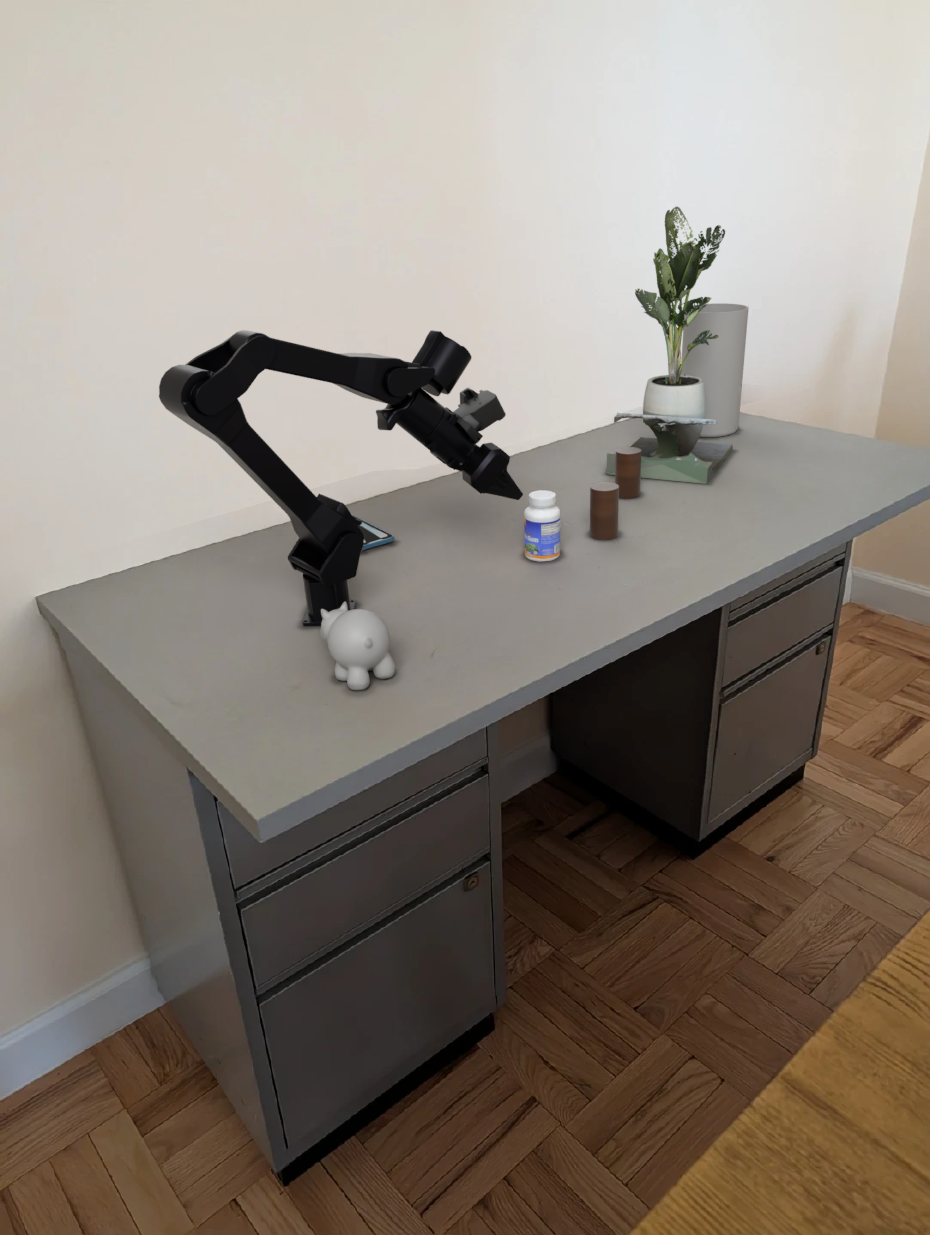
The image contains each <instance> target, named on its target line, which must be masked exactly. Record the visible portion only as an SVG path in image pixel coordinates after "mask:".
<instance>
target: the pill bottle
mask: <svg viewBox="0 0 930 1235" xmlns="http://www.w3.org/2000/svg"><path fill="white" fill-rule="evenodd" d="M556 504H557V494H556V493H555V492H554V491H551V490H547V489H546V490H545V489H539V490H534V491H531V492H530V493H528V505H529V506H527V507H526V508H525V509H524V512H523V523H524V524H523V532H524V533H523V534H524V536H523V538H524V543H523V544H524V545H523V546H524V556H525V558H527V559H528V560H530V561H533V562H540V563H541V562H543V563H544V562H550V561H555V560H556V559H558V558H559V557H560V556H561V510H560V508H559V507H558V506H556Z"/></svg>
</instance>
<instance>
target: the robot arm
mask: <svg viewBox="0 0 930 1235" xmlns="http://www.w3.org/2000/svg"><path fill="white" fill-rule="evenodd" d="M471 361H472V355H471V353H470V351H469V350H468V349H467V348H466V347H465V346H464V345H461V344H459V343H458V342H457V341H455V340H454V339H452V338H450V337H448V336H446V335H445V334H444V333H443V332H442V331H440V330H434V329H431V330H429V332H428V334H427V335H426V337H425V339H424V342H423V344H422V346H421V347H420V348H419V350H418V351H417V354H415V356H414V358H413V359H412V361H407V360H403V359H401V358H398V357H393V356H387V355H383V354H377V353H371V352H370V353H369V352H368V353H367V352H346V353H345V352H344V353H337V352H332V351H328V350H325V349H320V348H317V347H312V346H308V345H303V344H298V343H294V342H291V341H287V340H282V339H279V338H273V337H270V336H268V335H266V333H262V332H257V331H252V330H247V329H246V330H244V329H241V330H238V331H236V332H235V333H234V334H232V335H231V336H229V337H228V338H227V339H225V340H224V341H223V342H221V343H219V344H218V345H215V346H213V347H212V348H210V349H208V350H206V351H204V352H202V353H200V354H198V355H196V356H194V357H193V358H192V359H191V360H190V361H188V362H187V363H185V364H177V365H174V366H171V367H170V368H169V369H168V370H166V371H165V372H164V373H163V375H162V376H161V378H160V382H159V386H158V398H159V400H160V403H161V404H162V406H163V407H164V409H166V410H167V411H168V412H169V413H171V414H172V415H173V416H176V417H177V418H178V419H180V420H181V421H182V422H184V423H185V424H187V425H188V426H189V427H192V428H193V429H194V430H196V431H198V432H200V433H201V434H202V435H204V436H205V437H207V438H209V439H211V440H212V441H214V442H215V443H216V444H217V445H218V446H219V447H220V448H221V449H222V451H224V452H225V453H226V454H227V455H228V456H229V457H230V458H231V459H232V460H233V461H234V462H235V463H236V464H237V465H238V466H239V467H240V468H241V469H242V470H243V471H244V472H245V473H246V474H247V475H248V476H249V477H250V478H251V479H252V480H253V481H254V482H255V484H257V485H258V486H259V487H260V489H262V490H263V491H264V492H265V494H267V495H268V496H269V498H271V499H272V501H274V503H276V504H277V506H279V508H280V509H281V510H282V511H283V512H284V513H285V514H286V515H287V516H288V517H289V520H290V522H291V526H292V528H293V532H295V534H296V535H297V538H298V539H297V541H296V542H295V544H294V545H293V547H292V549H291V550H290V552H289V554H288V555H287V560H288V562H289V564H290V566H291V567H292V569H293V570H294V571H297V572H300V573H302V580H303V588H304V596H305V602H306V610H305V613H304V616H303V618H302V621H301V623H302V626H305V627H309V626H321V623H322V620H323V618H322V615H321V609H324V610H326V611H328V612H330V611H332V610H336V609H339V608H340V607H341V606H342V604H343V603H344V602H345V601H346V603H347V606H348V611H349V610H353V609H356V606H357V601H356V599H350V591H349V585H348V580H351V579H354V578H356V577H357V573H358V568H359V563H360V558H361V553H362V552H363V550H362V548H363V543H364V539H365V536H364V533H363V531H362V530H361V528H360V527H359V526H358V525H361V524H362V522H361V521H359V520H356V519H355V518H354V517H353V516H352V514H351V512H350V509H349V508H348V507H347V505H346V504H345V503H344V502H342V501H339V500H337V499H334V498H332V497H329V496H327V495H325V494H322V493H320V492H319V493H318V494H317V495H316V494H314V493H313V492H312V490H310V488H309V487H308V486H307V485H306V484H305V482H303V481H302V480H301V479H300V478H299V476H298V475H297V474H296V473H295V472H294V471H293V470H292V469H291V468H290V467H289V466H288V464H286V463H285V461H284V460H282V458H281V457H280V456H279V455H278V454H277V452H275V451H274V450H273V448H272V447H270V445H269V444H268V443H267V442H266V441H265V440H264V439H263V438H262V437H261V436H260V434H258V433H257V431H256V430H255V429H254V428H253V427H252V425H250V424H249V421H248V420H247V417H246V414H245V411H244V409H243V406H242V404H241V402H240V400H239V398H240V397H241V396H243V395H244V394H245V393H246V392H247V391H248V390H249V388H250V387H251V386H252V384H253V383H254V382H255V380H256V379H257V377H258V376H259V375H260V374H261V373H262V372H264V371H265V370H269V371H273V372H277V373H282V374H287V375H292V376H296V377H301V378H306V379H312V380H316V381H319V382H326V383H330V384H333V385H335V386H337V387H339V388H341V389H342V390H345V391H347V392H350V393H352V394H354V395H356V396H359V397H361V398H364V399H367V400H371V401H376V402H379V403H382V404H387V405H386V406H385V408H382V409H376V410H375V414H376V419H377V421H376V422H377V429H378V430H379V431H392V430H393V429H394V428H395V426H396V425H398V426H399V427H400V428H401V429H402V430H403V431H405V432H406V433H408V434H409V435H410V436H411V437H412V438H414V439H415V440H416V441H417V442H418V443H420V444H421V445H423V446H424V447H425V449H427V450H428V451H429V453H430V454H431V455H432V456H434V457H435V458H436V459H437V460H439V461H440V462H441V463H443V465H446V467H448V468H450V469H452V470H454V471H459V472H461V474H462V480H463V481H464V482H465V483H467V484H468V485H469V486H470V487H471V488H473V489H474V490H475V491H476V492H478V493H479V494H481V495H482V494H486V495H487V494H488V495H493V496H498V497H503V498H506V499H511V500H515V501H520V500H521V499H522V497H523V496H524V494H523V491H522V490H521V489H520V487H519V486H518V484H517V483H516V482H515V480H514V479H513V478H512V476H511V474H510V473H509V472H508V466H509V464H510V459H511V456H510V454H508V453H507V452H506V451H504V449H502V448H501V447H499V446H497V445H496V444H495V443H493V442H485V443H482V444H481V445H480V446H479V445H478V444H479V442H480V441H481V439H482V438H483V437H484V435H483V434H481V433H480V432H482V431H484V430H485V429H487V428H489V427H491V425H493V424H495V422H499V421H501V420H503V419H504V418H506V412H505V409H504V408H503V406H502V404H501V402H500V400H499V398H498V396H497V394H496V393H494V392H492V391H491V390H487V389H486V390H483V389H480V390H479V391H478V392H479V393H478V392H476V391H475V390H474V389H472V388H471V387H466V388H464V389H463V390H462V391H460V392H459V404H458V405H457V407H458V408H456V409H455V410H451V409H450V408H449V407H445V406H444V405H442V404H441V403H440V402H439V401H438V400H436V399H435V398H434V397H440V395H441V394H443V395H450V393H451V392H452V391H453V389H454V388H455V386H456V385H457V383H458V381H459V379H460V378H461V376H462V375H463V373H464V372H465V370H466V368H467V367H468V365H469V364H470V362H471Z"/></svg>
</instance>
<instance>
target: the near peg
mask: <svg viewBox="0 0 930 1235" xmlns="http://www.w3.org/2000/svg"><path fill="white" fill-rule="evenodd" d="M619 506H620V498H619V485H618V484H616V483H615V482H611V481H598V482H595V483H592V484H591V485H590V486H589V536H590V538H592V539H595V540H601V541H608V540H613V539H615V538H617V537H618V535H619V509H620V508H619Z"/></svg>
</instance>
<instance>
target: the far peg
mask: <svg viewBox="0 0 930 1235" xmlns="http://www.w3.org/2000/svg"><path fill="white" fill-rule="evenodd" d="M615 454H616V456H615V475H614V483H616V484H618V485H619V499H624V500H625V499H626V500H628V499H637V498H638V497H640V495H641V449H639V448H636V447H630V446H622V447H619V448H616V449H615Z"/></svg>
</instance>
